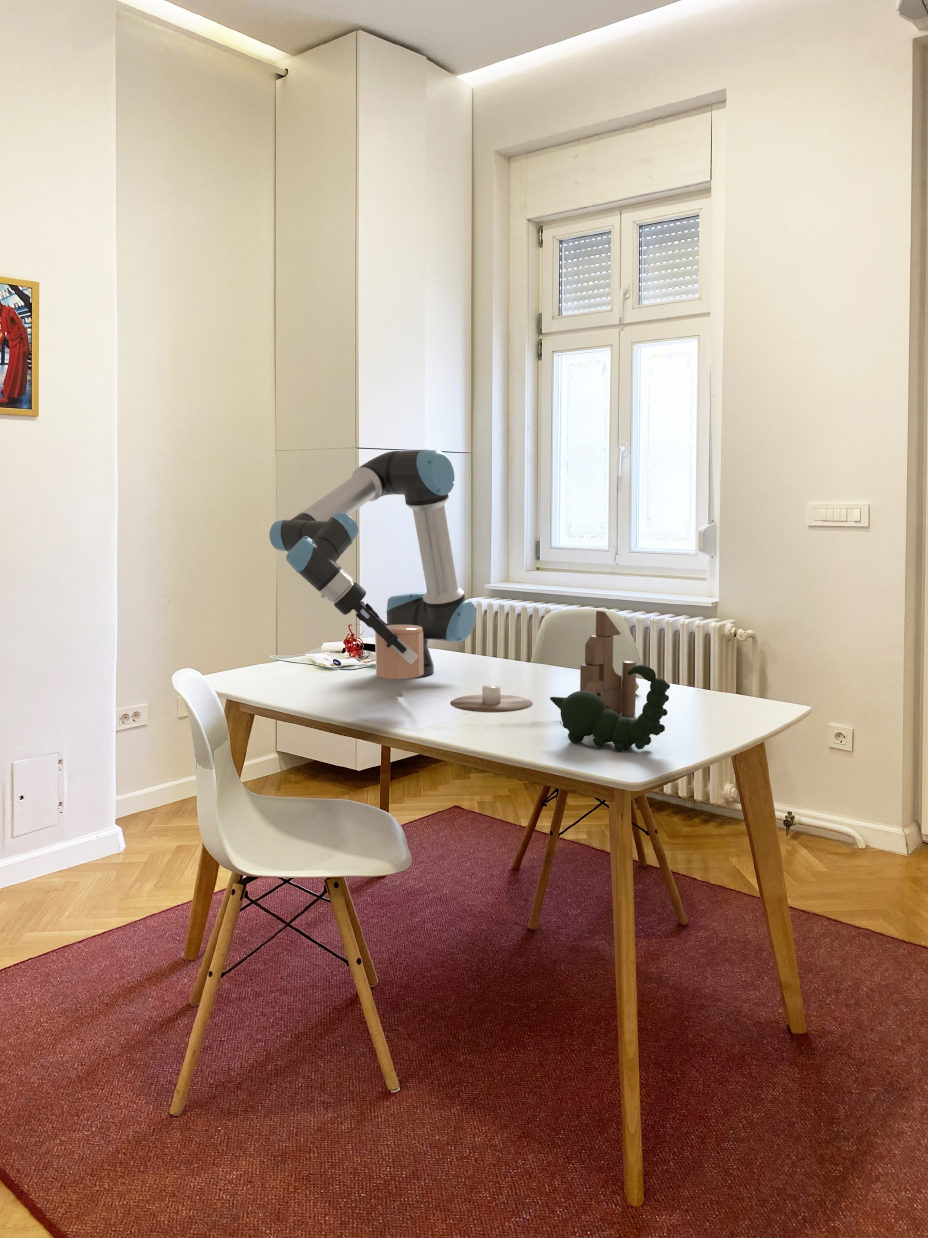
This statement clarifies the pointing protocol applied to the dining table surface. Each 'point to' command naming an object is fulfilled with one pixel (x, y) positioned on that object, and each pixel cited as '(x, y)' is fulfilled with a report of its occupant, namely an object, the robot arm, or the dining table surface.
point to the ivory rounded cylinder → (491, 694)
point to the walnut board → (476, 705)
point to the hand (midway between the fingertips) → (411, 656)
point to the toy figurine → (614, 715)
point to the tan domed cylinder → (394, 663)
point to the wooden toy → (607, 670)
